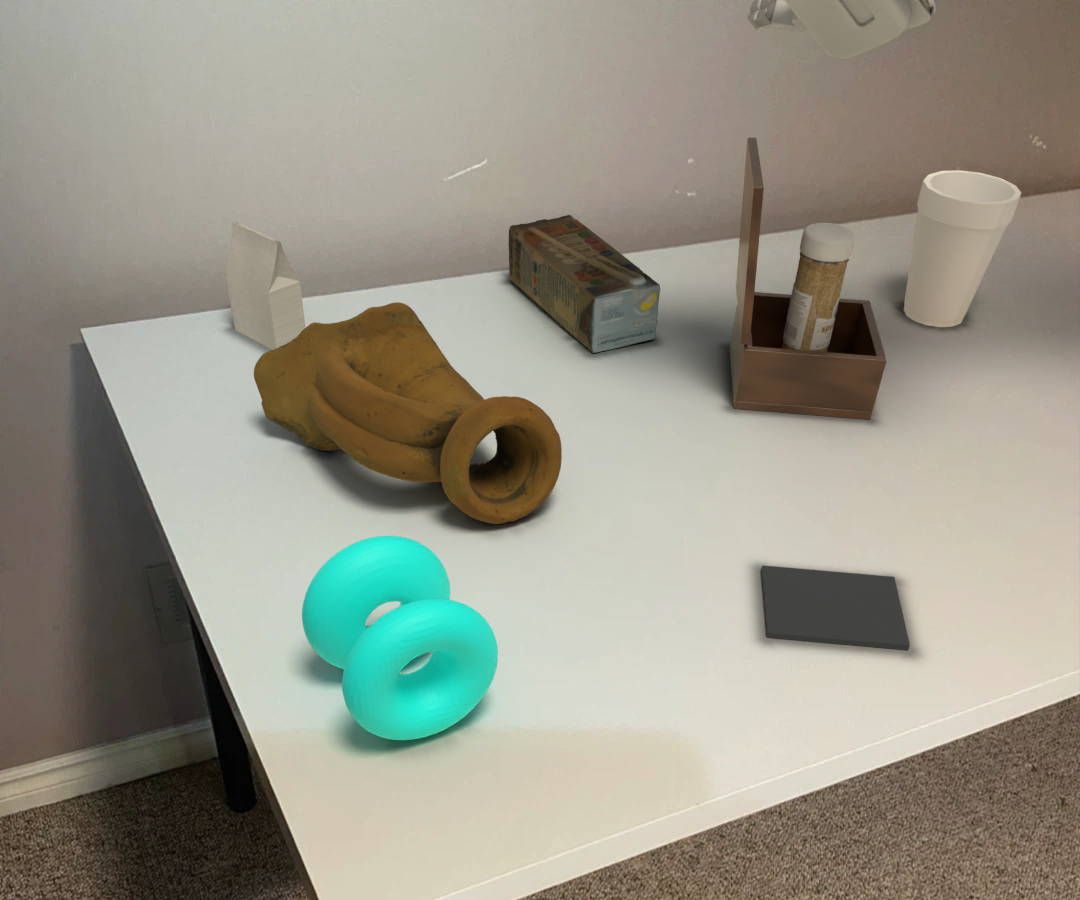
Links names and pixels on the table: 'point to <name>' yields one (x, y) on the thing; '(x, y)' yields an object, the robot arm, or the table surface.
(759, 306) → the walnut box
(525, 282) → the beverage carton
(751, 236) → the box lid
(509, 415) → the brown looped sculpture
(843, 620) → the felt mat
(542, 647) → the table surface
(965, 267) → the foam cup
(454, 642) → the donuts
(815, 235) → the spice jar
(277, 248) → the white gable top carton
